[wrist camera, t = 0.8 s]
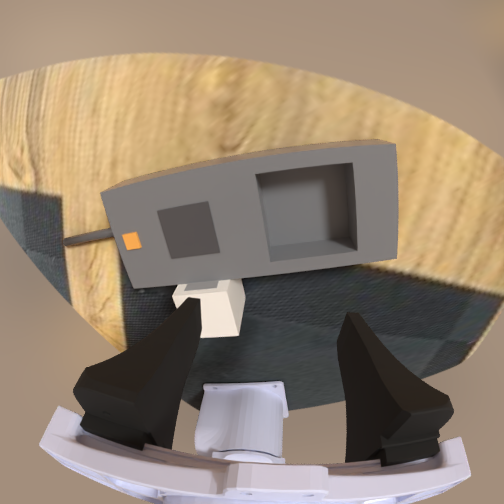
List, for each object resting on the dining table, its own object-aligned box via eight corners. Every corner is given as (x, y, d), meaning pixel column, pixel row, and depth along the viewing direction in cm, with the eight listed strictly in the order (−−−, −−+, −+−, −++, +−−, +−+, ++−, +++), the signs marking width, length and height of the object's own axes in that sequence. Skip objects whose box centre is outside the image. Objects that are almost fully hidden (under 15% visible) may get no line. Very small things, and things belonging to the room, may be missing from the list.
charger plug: (202, 301, 26) (188, 338, 21) (190, 261, 24) (171, 295, 20) (245, 297, 25) (238, 335, 21) (236, 256, 23) (226, 290, 19)
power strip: (80, 275, 26) (61, 295, 23) (53, 203, 23) (29, 217, 19) (381, 238, 22) (397, 259, 18) (377, 139, 18) (396, 144, 15)
